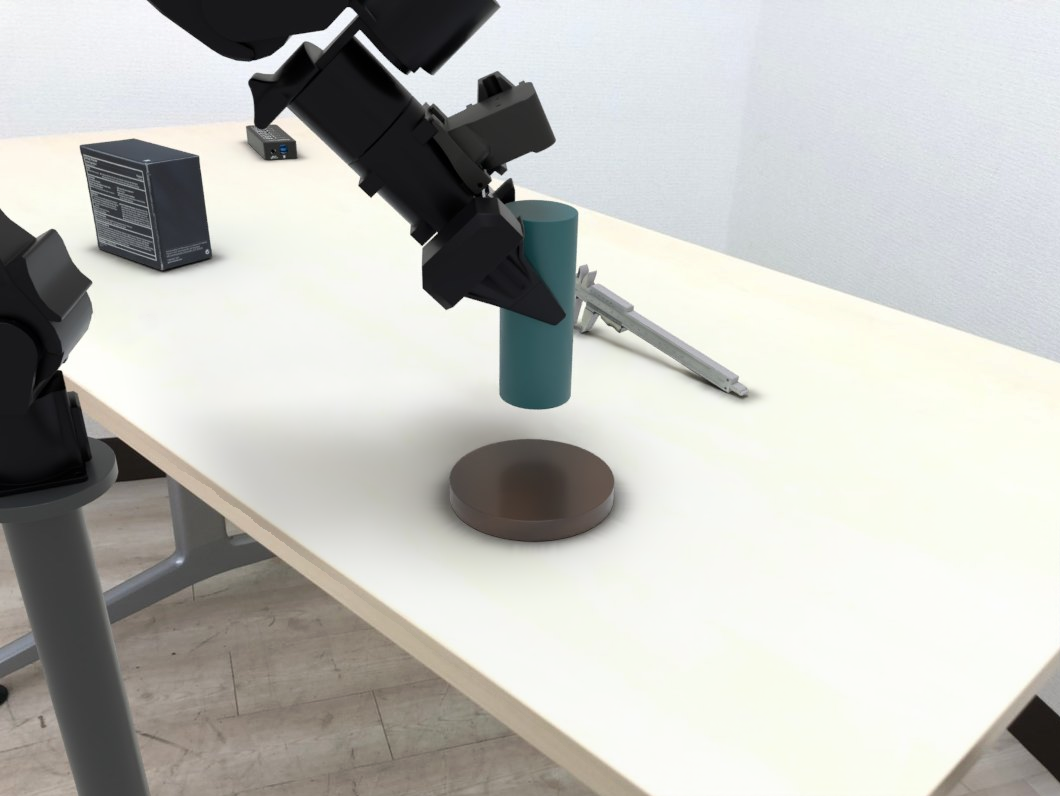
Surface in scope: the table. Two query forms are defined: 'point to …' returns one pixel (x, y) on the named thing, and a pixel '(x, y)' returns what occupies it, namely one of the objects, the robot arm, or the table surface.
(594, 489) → the walnut chip
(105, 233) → the small box
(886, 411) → the table surface
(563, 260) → the cylinder
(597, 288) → the caliper
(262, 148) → the multiport hub
